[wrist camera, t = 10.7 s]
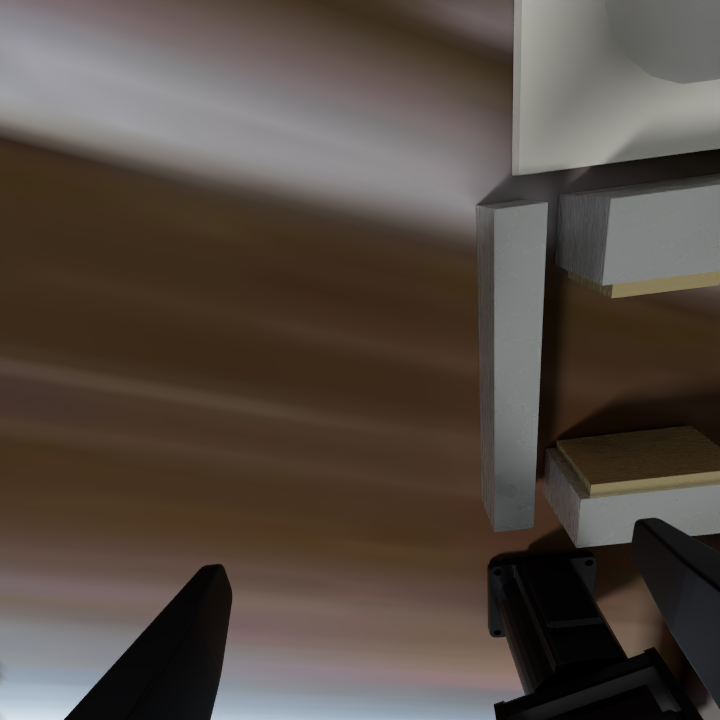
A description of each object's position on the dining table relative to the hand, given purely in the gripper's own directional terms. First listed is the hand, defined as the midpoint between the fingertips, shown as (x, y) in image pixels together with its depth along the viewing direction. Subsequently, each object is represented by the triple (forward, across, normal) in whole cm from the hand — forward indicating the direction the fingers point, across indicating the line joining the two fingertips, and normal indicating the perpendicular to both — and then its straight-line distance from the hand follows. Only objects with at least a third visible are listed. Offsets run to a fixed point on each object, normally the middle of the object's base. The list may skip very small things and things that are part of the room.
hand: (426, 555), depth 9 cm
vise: (+12, -10, +2) cm, 16 cm away
